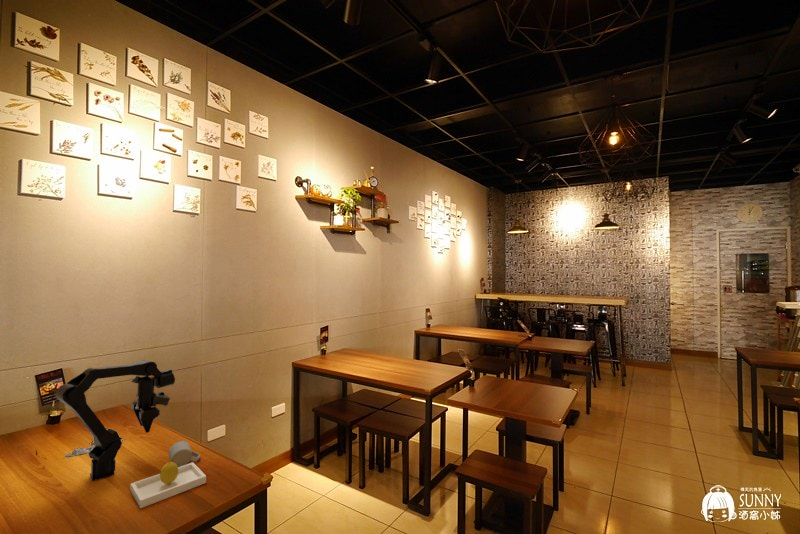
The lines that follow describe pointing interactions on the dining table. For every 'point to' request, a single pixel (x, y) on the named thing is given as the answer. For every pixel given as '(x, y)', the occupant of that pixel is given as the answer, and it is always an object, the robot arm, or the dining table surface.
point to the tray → (166, 485)
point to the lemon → (169, 472)
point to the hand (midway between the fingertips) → (145, 429)
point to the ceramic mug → (182, 454)
